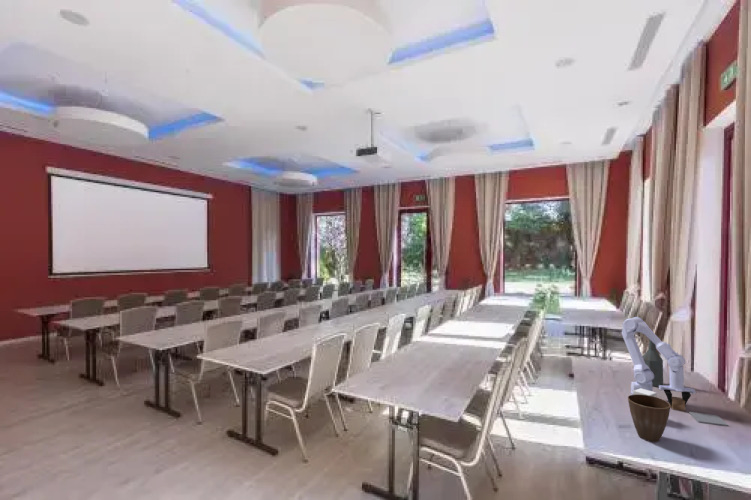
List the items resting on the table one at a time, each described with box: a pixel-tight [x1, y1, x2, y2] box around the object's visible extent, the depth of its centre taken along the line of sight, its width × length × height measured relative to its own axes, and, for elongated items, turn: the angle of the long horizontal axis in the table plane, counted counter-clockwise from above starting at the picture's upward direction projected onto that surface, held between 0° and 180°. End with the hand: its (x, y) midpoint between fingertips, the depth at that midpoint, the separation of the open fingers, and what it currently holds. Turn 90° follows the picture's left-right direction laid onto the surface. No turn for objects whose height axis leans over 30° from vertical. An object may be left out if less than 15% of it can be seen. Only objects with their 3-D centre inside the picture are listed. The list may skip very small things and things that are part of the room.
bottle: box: [642, 338, 664, 388], centre depth 225 cm, size 10×10×30 cm
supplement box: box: [633, 388, 658, 398], centre depth 181 cm, size 7×7×13 cm
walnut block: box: [670, 396, 686, 412], centre depth 190 cm, size 5×5×5 cm
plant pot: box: [627, 394, 671, 443], centre depth 161 cm, size 15×15×16 cm
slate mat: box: [688, 411, 729, 427], centre depth 178 cm, size 11×11×1 cm
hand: (677, 405), depth 190 cm, fingers closed on walnut block, 5 cm apart
